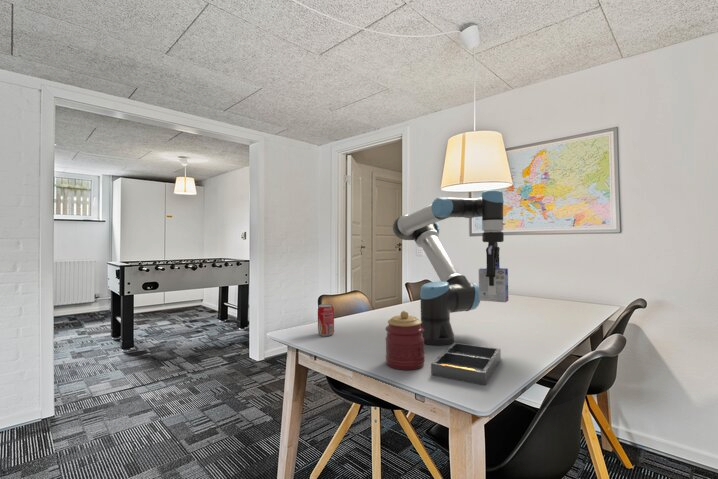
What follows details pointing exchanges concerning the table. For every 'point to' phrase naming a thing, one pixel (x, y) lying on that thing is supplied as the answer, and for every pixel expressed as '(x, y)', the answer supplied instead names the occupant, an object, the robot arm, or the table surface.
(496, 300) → the ink cartridge box
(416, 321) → the canister
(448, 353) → the tray
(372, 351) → the table surface
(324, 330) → the soda can
